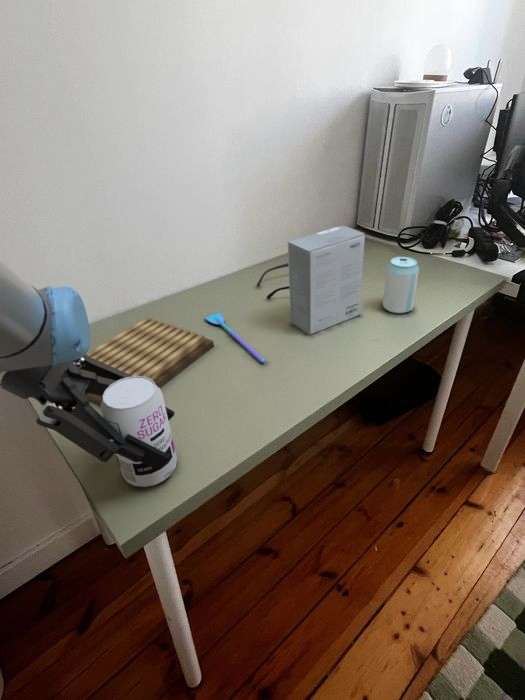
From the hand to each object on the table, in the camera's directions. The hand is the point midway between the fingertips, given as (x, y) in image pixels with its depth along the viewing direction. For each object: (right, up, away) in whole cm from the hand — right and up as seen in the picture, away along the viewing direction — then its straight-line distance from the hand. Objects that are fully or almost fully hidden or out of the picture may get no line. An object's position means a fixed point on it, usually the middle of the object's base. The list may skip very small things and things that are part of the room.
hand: (166, 439), depth 63 cm
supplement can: (-3, -5, +3) cm, 7 cm away
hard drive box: (+29, +20, +39) cm, 52 cm away
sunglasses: (+21, +30, +54) cm, 65 cm away
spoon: (+8, +16, +34) cm, 38 cm away
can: (+47, +23, +42) cm, 67 cm away
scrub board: (-12, +10, +27) cm, 31 cm away
